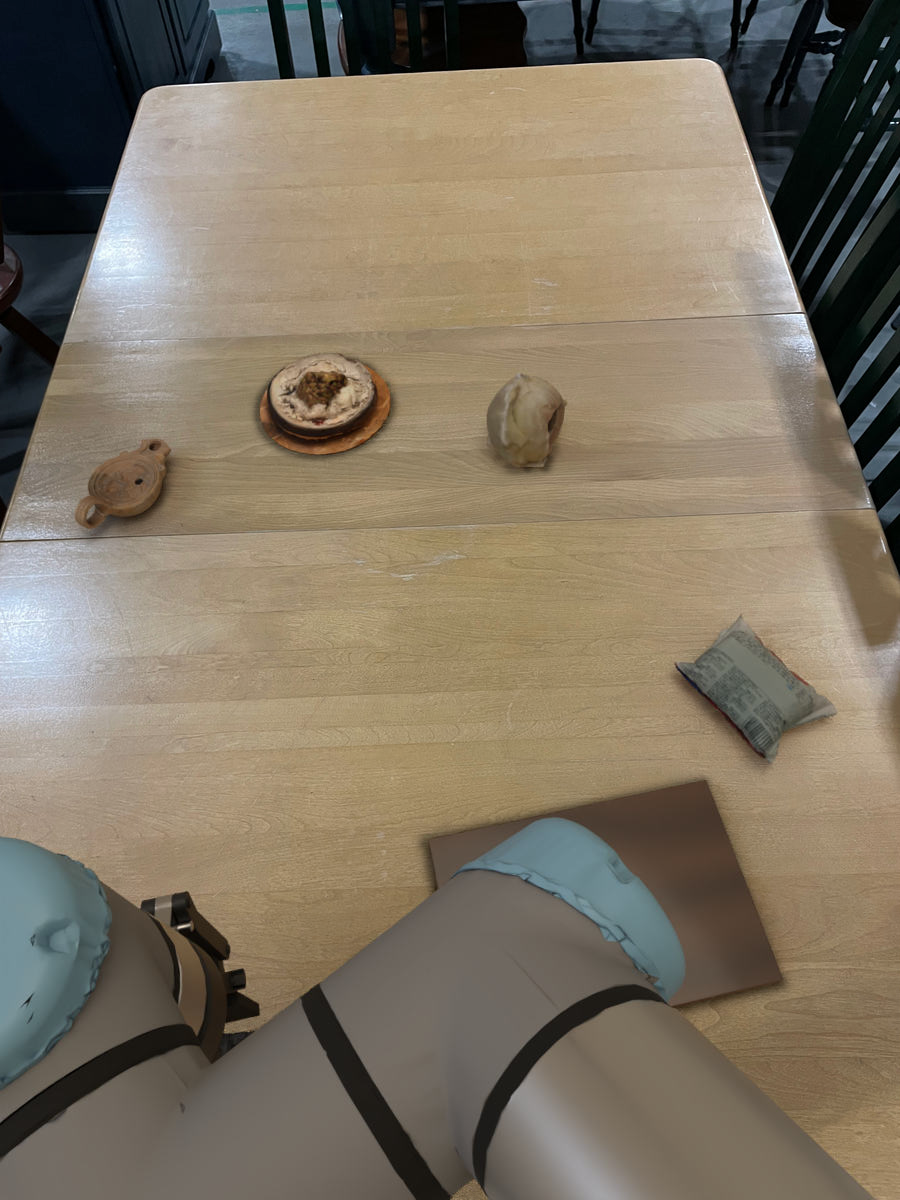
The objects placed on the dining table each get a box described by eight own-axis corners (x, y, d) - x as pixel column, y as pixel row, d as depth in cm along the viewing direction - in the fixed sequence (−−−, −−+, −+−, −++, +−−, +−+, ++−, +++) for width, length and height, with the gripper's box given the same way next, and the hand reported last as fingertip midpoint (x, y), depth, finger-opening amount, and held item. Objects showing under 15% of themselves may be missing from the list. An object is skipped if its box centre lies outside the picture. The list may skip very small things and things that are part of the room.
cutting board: (778, 982, 64) (783, 980, 63) (470, 1056, 62) (470, 1054, 61) (703, 784, 73) (706, 779, 72) (428, 843, 71) (428, 839, 70)
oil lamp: (146, 445, 95) (131, 414, 91) (198, 470, 93) (185, 439, 89) (64, 528, 89) (43, 497, 85) (117, 556, 87) (99, 527, 83)
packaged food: (735, 628, 81) (749, 601, 77) (831, 721, 76) (851, 698, 71) (666, 676, 78) (677, 650, 74) (760, 776, 73) (777, 755, 69)
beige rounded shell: (503, 486, 94) (479, 443, 85) (486, 423, 97) (461, 375, 88) (585, 458, 92) (570, 411, 83) (565, 394, 95) (548, 343, 86)
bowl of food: (273, 468, 93) (266, 441, 89) (249, 376, 100) (241, 349, 97) (403, 436, 95) (401, 409, 91) (370, 349, 103) (366, 321, 99)
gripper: (44, 841, 41) (181, 933, 61) (25, 1267, 33) (192, 1213, 53) (199, 810, 42) (285, 910, 62) (220, 1219, 33) (312, 1183, 53)
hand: (242, 1049), depth 57 cm, fingers closed on knife, 4 cm apart
